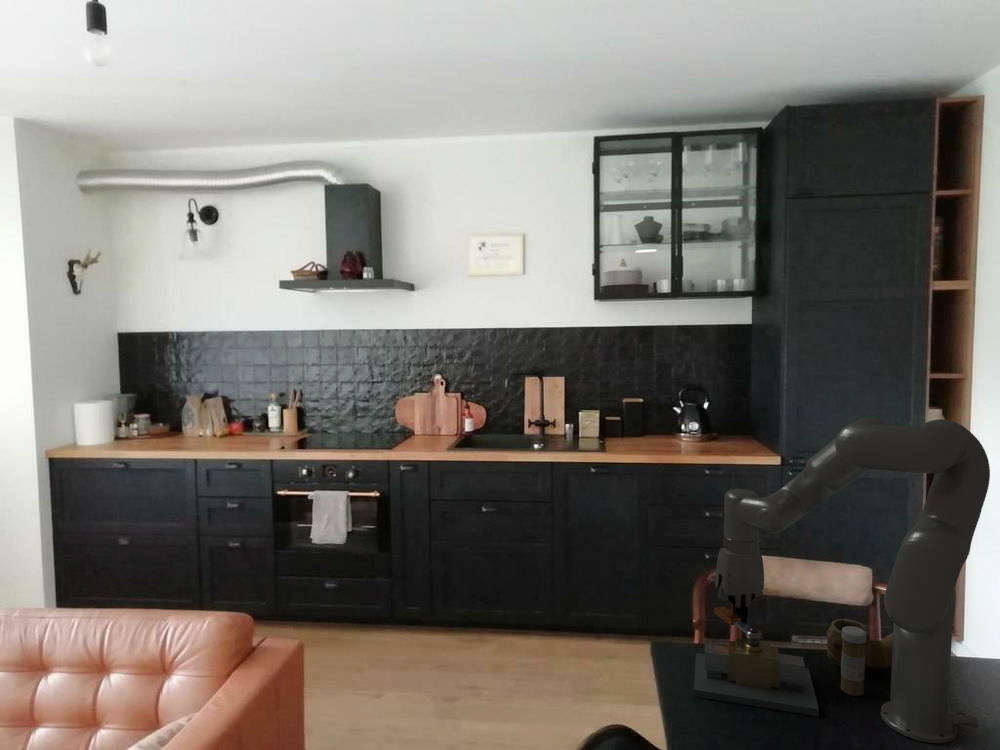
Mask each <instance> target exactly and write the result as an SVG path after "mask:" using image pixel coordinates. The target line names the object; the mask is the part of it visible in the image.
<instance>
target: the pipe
mask: <svg viewBox="0 0 1000 750" xmlns="http://www.w3.org/2000/svg"><path fill="white" fill-rule="evenodd" d="M846 626H853V627H858V628H860V629H862V630H864V631H865V632H866V643H865V669H866V668H872V669H873V668H874V669H877V668H880V669H885V668H887V669H889V670H891V668H892V644H893V632H891V633H889V634H888V635H886V636H885V637H884V638H883V639H881V640H880V639H871V637H870V631H869V629H868V627H867V626H866V625H865V624H863V623H861V622H860V621H857V620H854V619H849V618H848V619H847V618H837V619H835V620H832V622H831V623H830V626H829V628H828V630H827V631H826V635H825V636H826V652H827V653H826V655H827V657H828V659H829V660H830V661H831V663H833V664H835V665H837V666H839V667H840V668H841V659H842V641H843V640H842V628H843V627H846Z"/></svg>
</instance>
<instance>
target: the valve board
mask: <svg viewBox="0 0 1000 750" xmlns="http://www.w3.org/2000/svg"><path fill="white" fill-rule="evenodd" d="M704 662H705V653H699V652H696V653H695V665H694V681H693V682H694V683H693V697H696V698H702V699H707V700H708V699H709V700H714V701H719V702H720V701H721V702H725V703H726V702H727V703H731V704H733V703H734V704H737V705H738V704H739V705H744V706H752V707H757V708H764V709H770V710H776V711H783V712H787V713H795V714H801V715H805V716H814V717H819V716H820V708H819V704H818V700H817V697H816V693H815V689H814V684H813V680H812V677H811V674H810V669H809V668H806V667H805V683H804V685H803V684H802V692H796V691H789V690H786V685H785V682H783V681H780V684H779V688H776V687H771V690H766V689H760V688H753V687H747V686H740V685H736V681H730V680H728V673H722V672H721V680H717V679H710V678H707V670H704Z"/></svg>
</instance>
